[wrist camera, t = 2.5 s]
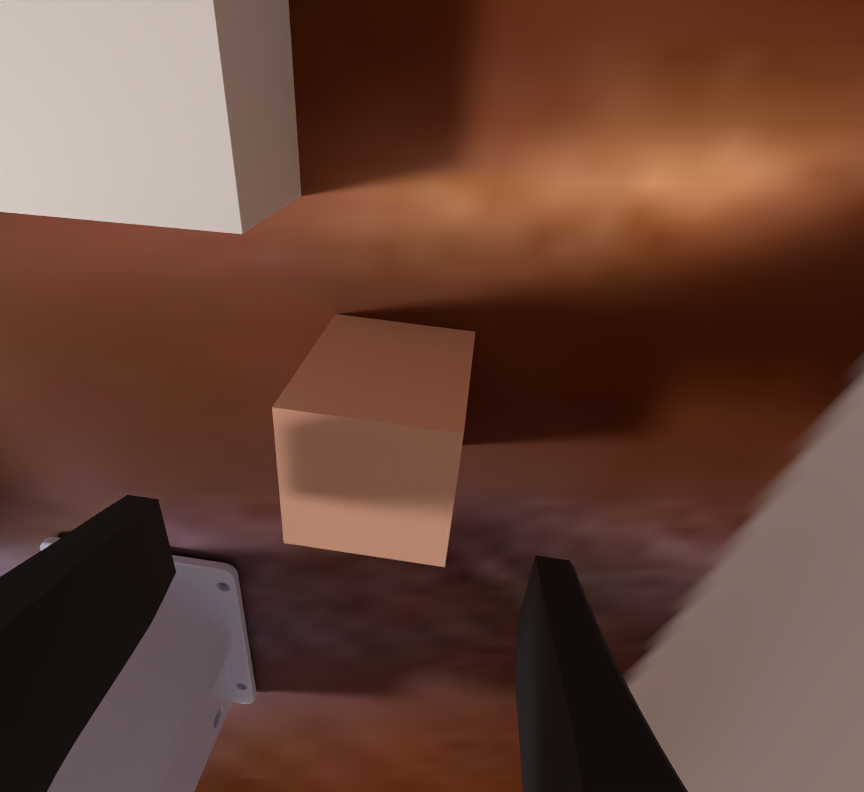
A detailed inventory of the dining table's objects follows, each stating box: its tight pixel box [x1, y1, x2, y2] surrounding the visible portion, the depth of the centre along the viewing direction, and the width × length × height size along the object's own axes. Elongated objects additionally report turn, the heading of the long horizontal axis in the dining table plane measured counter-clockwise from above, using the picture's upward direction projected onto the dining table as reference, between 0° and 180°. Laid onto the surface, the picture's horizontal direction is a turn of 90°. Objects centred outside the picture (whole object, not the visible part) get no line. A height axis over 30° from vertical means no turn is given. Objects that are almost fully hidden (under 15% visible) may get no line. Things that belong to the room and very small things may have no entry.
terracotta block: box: [272, 314, 475, 567], centre depth 14 cm, size 4×4×5 cm
